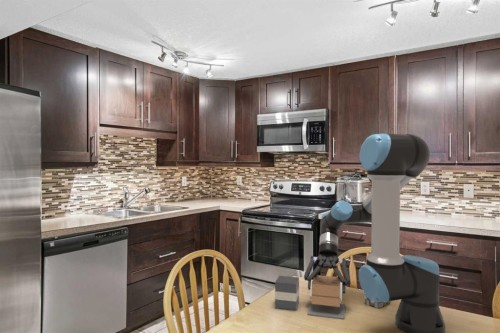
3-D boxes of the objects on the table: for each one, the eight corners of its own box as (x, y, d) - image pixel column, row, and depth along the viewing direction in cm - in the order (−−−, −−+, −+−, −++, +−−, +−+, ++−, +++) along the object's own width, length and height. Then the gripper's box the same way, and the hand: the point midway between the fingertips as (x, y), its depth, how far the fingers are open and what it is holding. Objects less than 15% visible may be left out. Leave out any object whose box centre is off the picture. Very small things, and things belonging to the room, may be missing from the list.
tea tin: (299, 302, 139) (299, 277, 139) (296, 310, 131) (296, 284, 131) (279, 300, 141) (279, 275, 141) (274, 308, 133) (274, 282, 133)
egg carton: (380, 310, 132) (380, 299, 132) (361, 304, 138) (361, 294, 137) (392, 302, 139) (392, 292, 139) (374, 297, 145) (374, 287, 145)
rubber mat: (345, 304, 136) (345, 303, 136) (344, 319, 124) (344, 318, 124) (311, 301, 140) (311, 300, 140) (307, 315, 127) (307, 313, 127)
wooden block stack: (340, 296, 136) (340, 277, 135) (339, 306, 126) (339, 286, 126) (314, 293, 138) (314, 274, 138) (311, 303, 129) (311, 283, 129)
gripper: (357, 253, 144) (357, 307, 129) (301, 249, 150) (296, 300, 135) (357, 243, 138) (358, 298, 123) (300, 240, 145) (294, 291, 130)
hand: (325, 299), depth 129 cm, fingers closed on wooden block stack, 10 cm apart
